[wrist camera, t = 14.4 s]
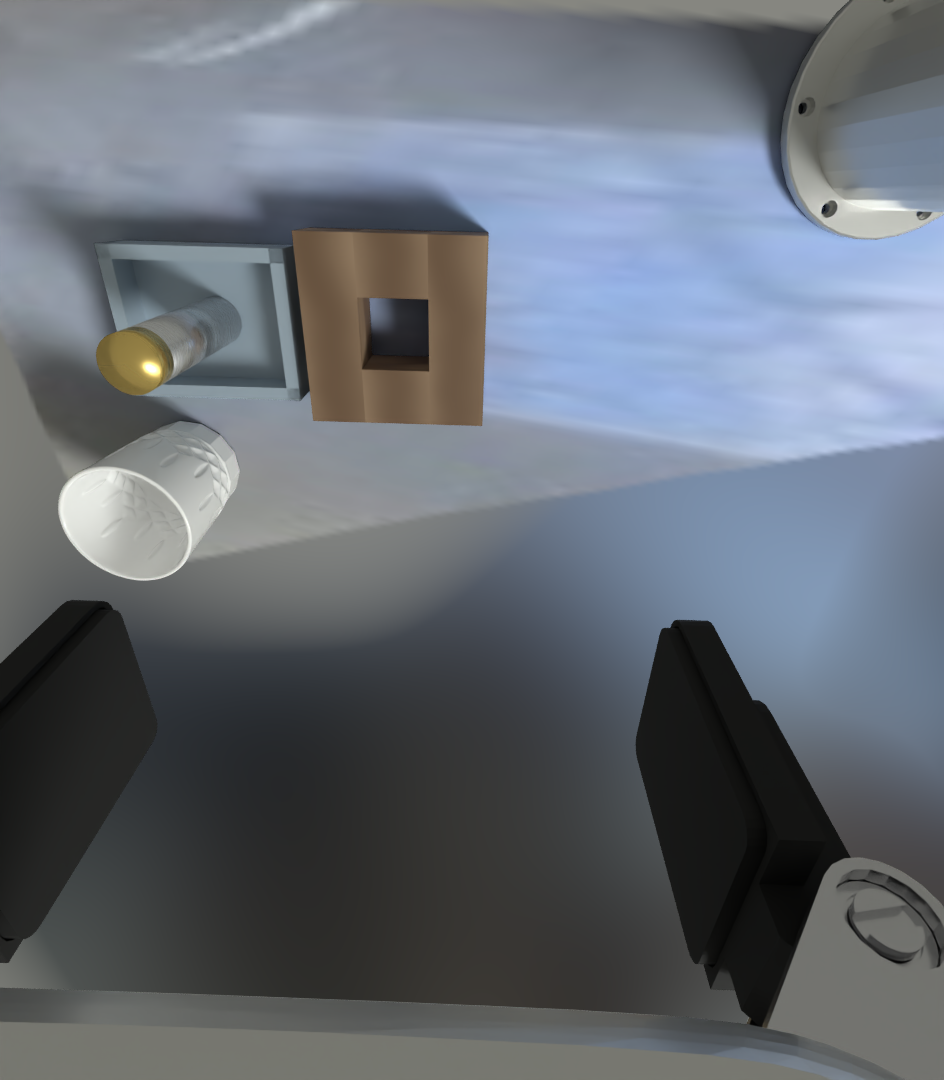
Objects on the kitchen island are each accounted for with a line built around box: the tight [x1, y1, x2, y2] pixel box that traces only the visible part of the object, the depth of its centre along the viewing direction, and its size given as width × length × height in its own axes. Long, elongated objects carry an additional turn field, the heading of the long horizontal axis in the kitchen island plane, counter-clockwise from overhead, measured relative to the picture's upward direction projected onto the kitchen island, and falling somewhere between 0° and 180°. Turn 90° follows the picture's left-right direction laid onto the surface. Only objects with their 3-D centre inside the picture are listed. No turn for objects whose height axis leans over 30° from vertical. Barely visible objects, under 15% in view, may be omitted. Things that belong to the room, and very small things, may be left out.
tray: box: [94, 240, 310, 401], centre depth 38 cm, size 11×9×3 cm
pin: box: [96, 296, 242, 395], centre depth 34 cm, size 3×3×12 cm
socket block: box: [292, 227, 488, 426], centre depth 38 cm, size 11×11×4 cm
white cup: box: [58, 421, 240, 580], centre depth 40 cm, size 8×8×10 cm
